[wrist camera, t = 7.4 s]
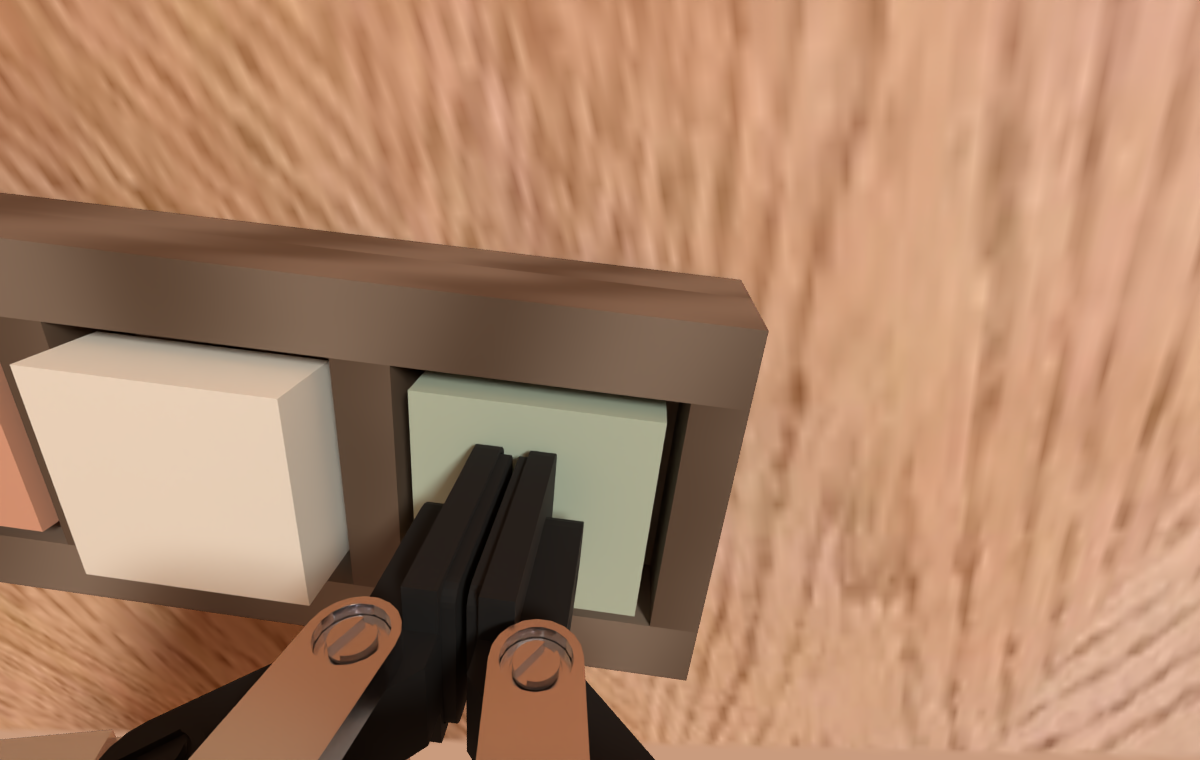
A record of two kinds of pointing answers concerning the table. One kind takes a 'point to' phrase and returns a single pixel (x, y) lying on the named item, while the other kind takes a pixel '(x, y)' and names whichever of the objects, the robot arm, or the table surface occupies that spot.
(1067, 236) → the table surface
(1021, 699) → the table surface
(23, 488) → the terracotta key
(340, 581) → the keypad
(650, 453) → the sage key
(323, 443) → the cream key
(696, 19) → the table surface
